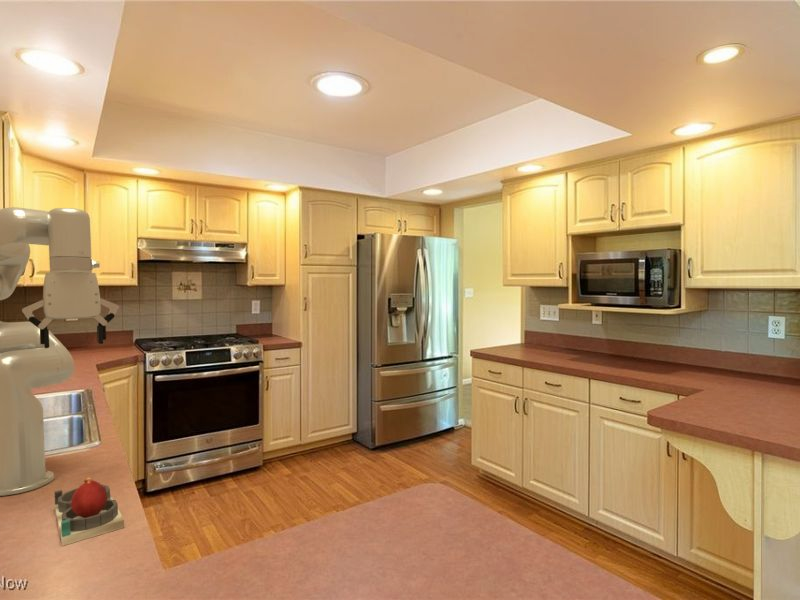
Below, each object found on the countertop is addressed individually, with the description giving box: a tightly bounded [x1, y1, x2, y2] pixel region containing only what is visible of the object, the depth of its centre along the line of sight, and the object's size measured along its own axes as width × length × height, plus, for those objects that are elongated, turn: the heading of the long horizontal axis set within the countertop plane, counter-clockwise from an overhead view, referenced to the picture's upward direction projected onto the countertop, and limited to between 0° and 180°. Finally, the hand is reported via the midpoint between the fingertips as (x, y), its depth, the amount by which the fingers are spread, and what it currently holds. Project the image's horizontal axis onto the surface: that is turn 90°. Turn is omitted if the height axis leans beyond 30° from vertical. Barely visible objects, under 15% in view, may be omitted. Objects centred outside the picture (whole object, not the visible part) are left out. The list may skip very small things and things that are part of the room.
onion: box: [71, 477, 108, 518], centre depth 90 cm, size 6×6×8 cm
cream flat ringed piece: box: [53, 484, 125, 547], centre depth 94 cm, size 18×10×4 cm, turn 39°
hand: (74, 345), depth 103 cm, fingers open, 9 cm apart
